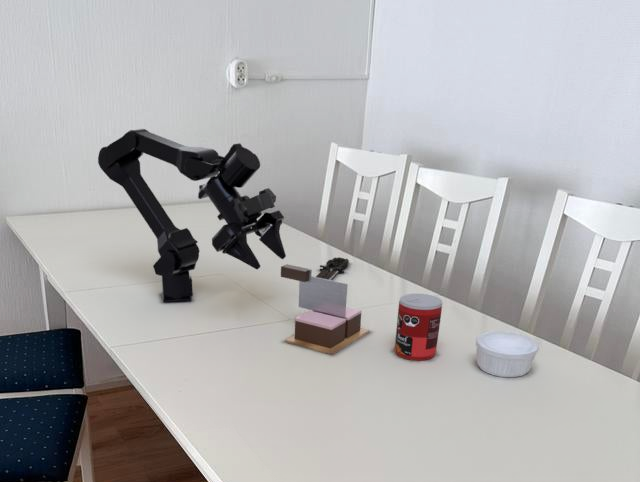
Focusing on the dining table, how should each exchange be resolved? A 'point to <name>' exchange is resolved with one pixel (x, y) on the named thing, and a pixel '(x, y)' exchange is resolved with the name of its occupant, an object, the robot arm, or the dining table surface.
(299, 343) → the cake board
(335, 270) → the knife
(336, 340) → the cake
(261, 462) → the dining table surface
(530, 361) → the ramekin
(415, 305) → the canned food
